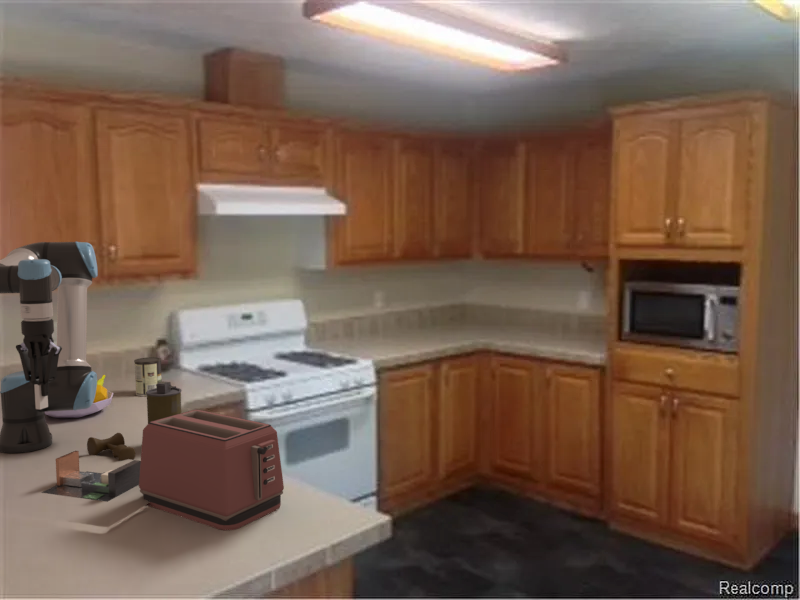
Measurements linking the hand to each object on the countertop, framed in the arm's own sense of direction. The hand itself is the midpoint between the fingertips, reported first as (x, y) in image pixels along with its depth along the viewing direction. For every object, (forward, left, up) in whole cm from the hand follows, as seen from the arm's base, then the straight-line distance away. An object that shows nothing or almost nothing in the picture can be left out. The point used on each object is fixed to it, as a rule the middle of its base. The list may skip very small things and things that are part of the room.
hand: (42, 407), depth 186 cm
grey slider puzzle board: (+17, 0, -20) cm, 26 cm away
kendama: (+2, +24, -21) cm, 32 cm away
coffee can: (-37, +94, -21) cm, 103 cm away
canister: (+11, +37, -21) cm, 44 cm away
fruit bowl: (-43, +61, -21) cm, 77 cm away
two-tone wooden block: (+10, 0, -19) cm, 22 cm away
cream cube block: (+22, 0, -19) cm, 29 cm away
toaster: (+51, 0, -21) cm, 55 cm away
